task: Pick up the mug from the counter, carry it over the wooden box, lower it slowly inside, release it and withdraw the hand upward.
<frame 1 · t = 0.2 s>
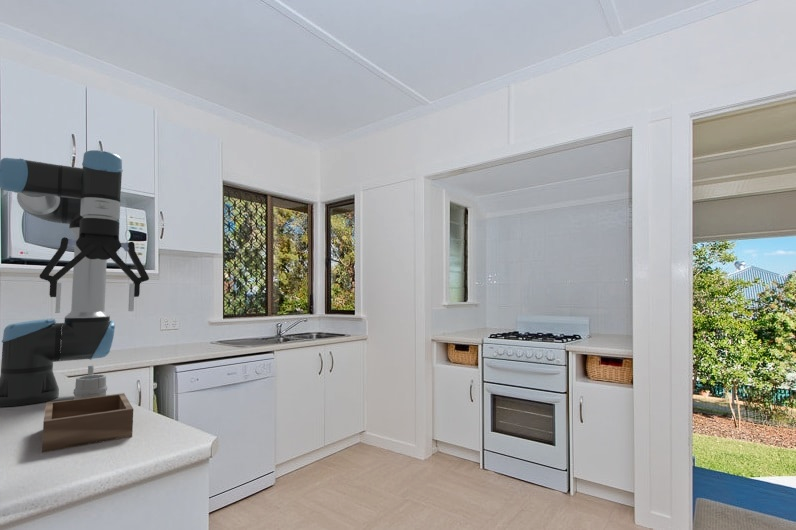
hand: (95, 312, 97), 27 cm above the counter, fingers open, 13 cm apart
mug: (89, 414, 112), on the counter
wooden box: (87, 432, 97), on the counter
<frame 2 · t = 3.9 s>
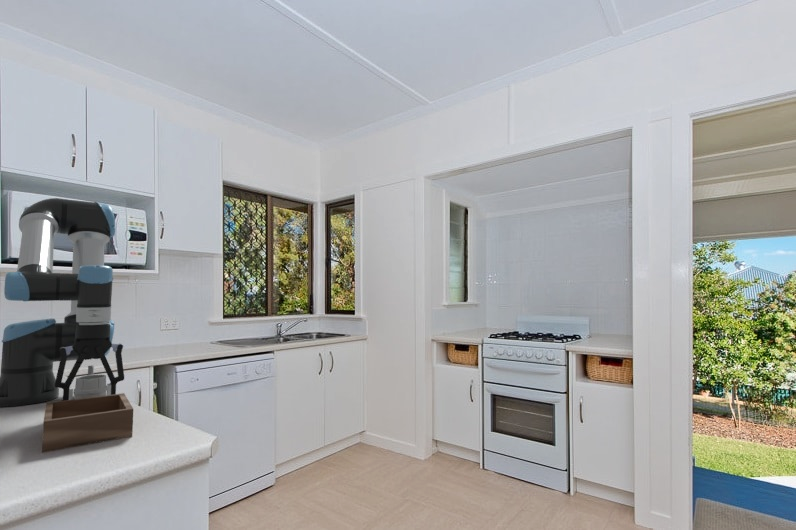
hand: (89, 411, 112), 1 cm above the counter, fingers closed on mug, 7 cm apart
mug: (89, 414, 112), on the counter, touching gripper
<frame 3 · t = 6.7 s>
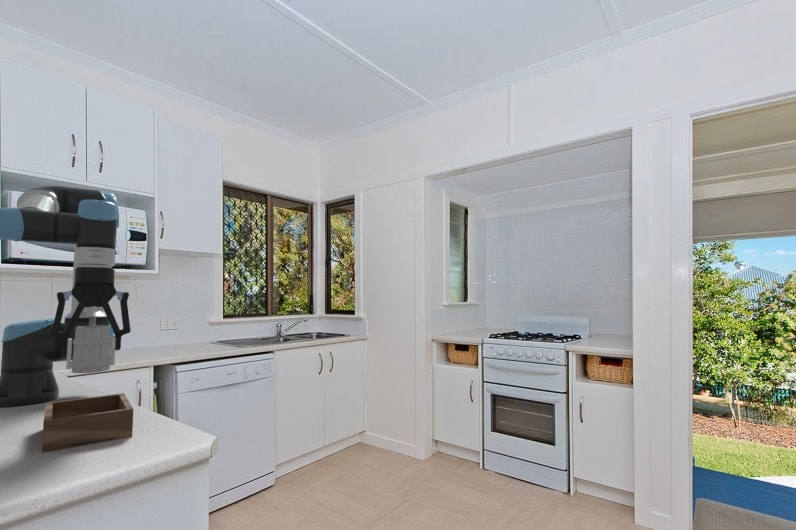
hand: (90, 366, 98), 15 cm above the counter, fingers closed on mug, 7 cm apart
mug: (90, 370, 98), point 14 cm above the counter, touching gripper
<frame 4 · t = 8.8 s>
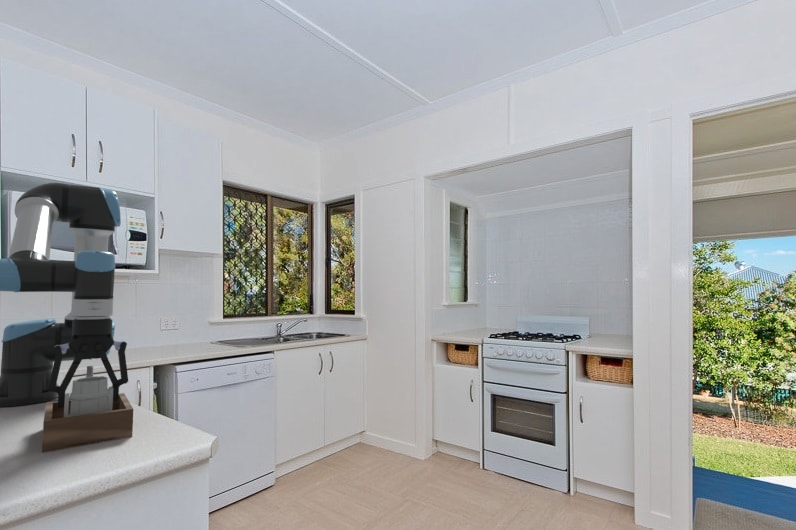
hand: (88, 418, 97), 3 cm above the counter, fingers closed on mug, 7 cm apart
mug: (88, 422, 97), point 2 cm above the counter, touching gripper
when the fingers open (4 cm above the counter, at t = 10.4 s): mug stays where it is, resting on wooden box.
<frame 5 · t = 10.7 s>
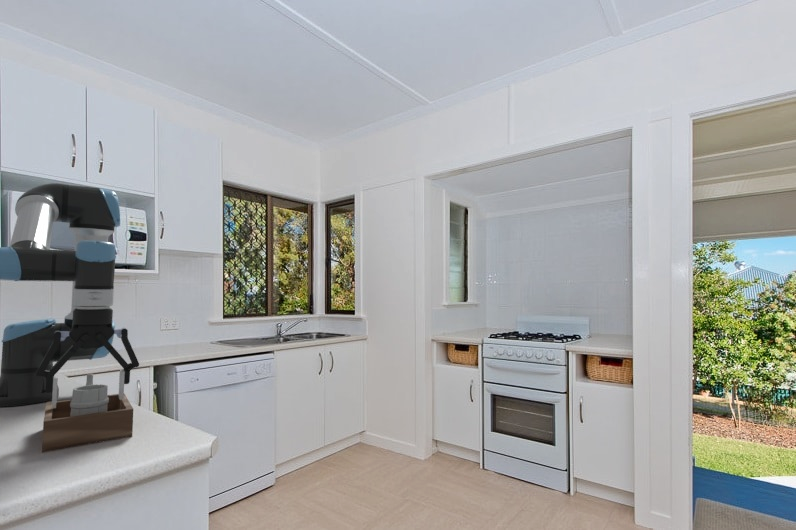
hand: (88, 402, 98), 7 cm above the counter, fingers open, 12 cm apart
mug: (87, 430, 97), resting on wooden box
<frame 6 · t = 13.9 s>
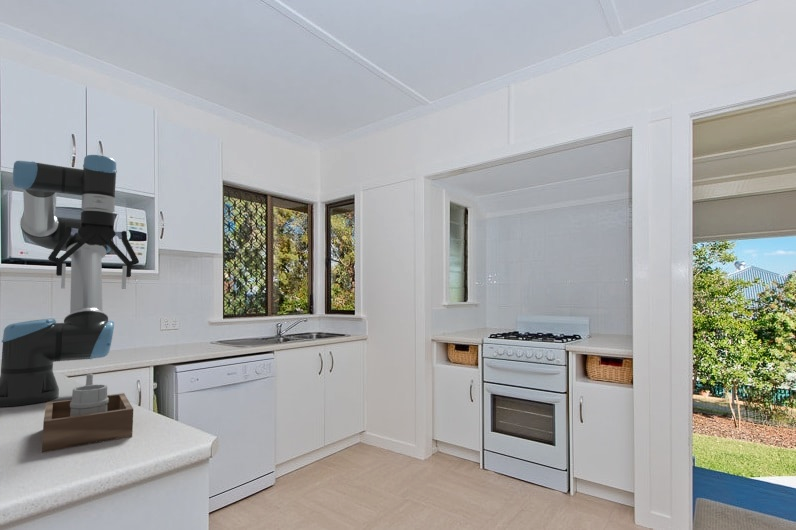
hand: (94, 288, 117), 33 cm above the counter, fingers open, 13 cm apart
nothing on the counter moved.
at the end: mug inside the target area on the wooden box (0.0 cm from its centre), point 0.4 cm above the wooden box's base; mug tilted 0°; the gripper is holding nothing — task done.
